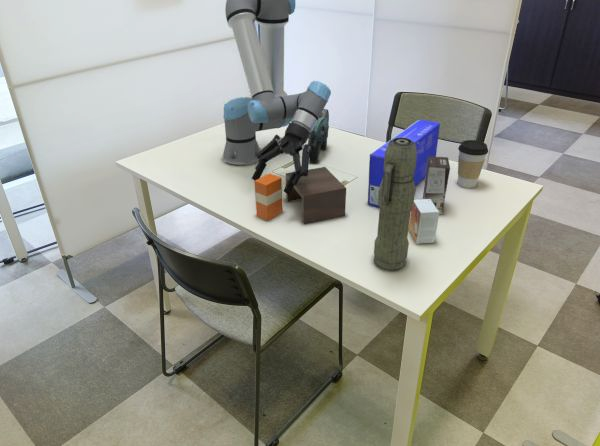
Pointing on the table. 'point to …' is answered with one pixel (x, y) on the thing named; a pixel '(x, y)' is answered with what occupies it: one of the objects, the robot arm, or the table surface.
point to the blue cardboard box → (426, 146)
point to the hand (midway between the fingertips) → (269, 186)
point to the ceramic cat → (319, 136)
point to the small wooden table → (319, 195)
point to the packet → (268, 196)
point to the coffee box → (436, 181)
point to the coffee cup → (470, 162)
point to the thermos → (395, 204)
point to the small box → (423, 221)
